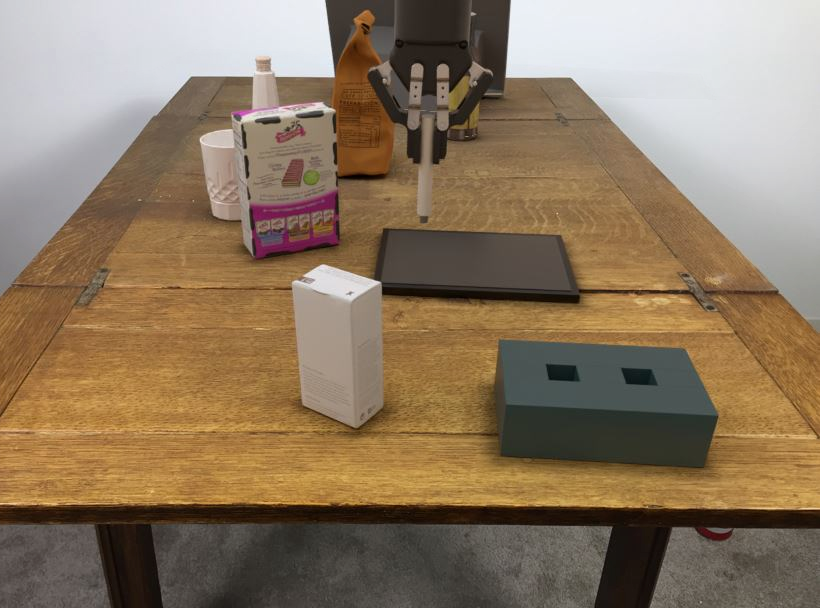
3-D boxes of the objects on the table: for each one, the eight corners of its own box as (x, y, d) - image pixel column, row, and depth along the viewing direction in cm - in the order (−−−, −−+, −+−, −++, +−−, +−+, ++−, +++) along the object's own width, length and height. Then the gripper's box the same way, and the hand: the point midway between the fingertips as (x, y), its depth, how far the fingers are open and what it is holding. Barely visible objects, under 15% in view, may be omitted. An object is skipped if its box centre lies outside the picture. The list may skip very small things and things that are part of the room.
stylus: (430, 219, 89) (435, 113, 83) (430, 225, 88) (435, 118, 82) (416, 219, 89) (420, 113, 83) (416, 224, 88) (420, 117, 82)
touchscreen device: (504, 94, 161) (519, -70, 145) (495, 123, 145) (510, -58, 129) (339, 84, 168) (336, -74, 151) (313, 110, 151) (306, -63, 135)
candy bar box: (326, 230, 100) (322, 99, 92) (341, 245, 96) (339, 109, 88) (240, 244, 96) (229, 109, 88) (252, 260, 92) (241, 120, 84)
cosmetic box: (385, 406, 67) (388, 279, 61) (354, 433, 64) (354, 302, 58) (328, 383, 70) (325, 260, 64) (296, 407, 67) (289, 280, 61)
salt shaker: (253, 124, 141) (249, 60, 136) (250, 116, 146) (245, 54, 140) (283, 122, 142) (280, 59, 137) (279, 114, 147) (276, 53, 141)
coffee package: (397, 155, 126) (401, 9, 115) (391, 182, 115) (394, 22, 104) (336, 153, 127) (334, 7, 116) (324, 179, 116) (320, 21, 105)
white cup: (196, 210, 105) (187, 137, 100) (244, 196, 110) (238, 125, 105) (229, 227, 100) (222, 151, 95) (278, 212, 105) (274, 138, 100)
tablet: (383, 235, 99) (383, 227, 98) (560, 242, 97) (561, 234, 96) (372, 294, 85) (372, 285, 84) (578, 303, 83) (580, 294, 83)
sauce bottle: (468, 129, 139) (476, 9, 129) (483, 139, 134) (493, 15, 124) (434, 132, 137) (440, 10, 127) (448, 143, 132) (455, 16, 122)
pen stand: (493, 387, 70) (498, 338, 67) (673, 396, 69) (685, 347, 66) (500, 456, 62) (505, 404, 59) (704, 467, 60) (719, 415, 58)
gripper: (359, -8, 74) (360, 171, 82) (507, -6, 73) (491, 175, 81) (366, -18, 80) (366, 149, 89) (502, -16, 79) (488, 153, 88)
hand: (426, 161), depth 85 cm, fingers closed on stylus, 1 cm apart
